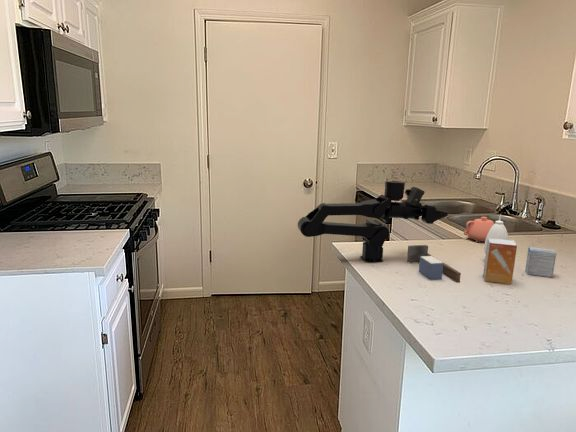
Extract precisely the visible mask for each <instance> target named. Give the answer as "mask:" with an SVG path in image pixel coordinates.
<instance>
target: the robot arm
mask: <svg viewBox="0 0 576 432" xmlns="http://www.w3.org/2000/svg"><path fill="white" fill-rule="evenodd" d="M405 186H406V182H405V181H401V180H387V181H385V183H384V187H385V188H384V193H383V194H380V195H379V196H378V197H376V198H373V199H367V200H363V201H360V202H356V203H355V202H354V203H351V202H350V203H349V202H348V203H345V202H344V203H343V202H342V203H325V202H321V203H320V204H319V205H318V206H316V208H314V209H313V210H312V211H310V212H308V213H307V215H305V216H302V217H300V218H299V220H298V222H297V228H298V230H299V232H300V233H301V234H302V236H303V237H308V238H311V237H318V236H322V235H335V236H352V237H353V236H354V237H361V238H362V241H363V242H362V252H361V254H362V255H360V256H359V257H360V258H361V259H362V260H363V261H364V262H366V263H377V262H379V263H381V262H384V260H383V256H384V247H383V246H384V244H385V241H386V240H387V239H388V238H389V235H390V230H389V228H388V227H387V226H386V225H384V224H383V223H381V221H379V220H377V219H381V220H382V221H383V222H385V223H386V224H389V222H390V219H391V218H393V219H404V220H409V219H412V220H416V221H417V220H418V221H419V220H420V218H421V221H422V222H423V223H424V224H428V225H430V224H431V225H433V224H434V223H435V222H436V221H438V220H441V219H443V218H446V217H447V216H448V215H449V213H448V212H446V211H442V210H438V209H437V208H436V206H435V205H431V204H424V205H423V204H422V203H421V200H422V199H423V196H424V195H425V190H423V189H421V188H418V187H415V186H412V187H410V188H406V189H405ZM404 194H405V195H406V200H403V198H404ZM401 200H402V201H401ZM328 216H362V217H367V218H371V219H372V220H371V219H366V220H365V223H361V224H358V223H345V222H330V221H329V222H328V221H325V220H326V218H328ZM373 219H374V220H373Z"/></svg>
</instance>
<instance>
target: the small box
mask: <svg viewBox="0 0 576 432" xmlns="http://www.w3.org/2000/svg"><path fill="white" fill-rule="evenodd" d="M517 248H518V247H517V243H516V241H515V240H514V239H513V240H510V239H509V240H503V239H491V238H488V240H487V248H486V254H485V257H484V264H483V265H484V267H483V273H482V275H483V279H484V281H485V282H493V283H497V284H507V285H512V284H513V279H514V278H513V277H514V269H515V264H516V263H515V262H516V255H517V251H518V250H517Z"/></svg>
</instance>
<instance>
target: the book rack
mask: <svg viewBox="0 0 576 432" xmlns="http://www.w3.org/2000/svg"><path fill="white" fill-rule="evenodd" d="M428 251H429V245H428V244H416V245H413V244H412V245H407V256H406V262H407V263H408V262H409V263H408V264H412V263H413V262H418V263H420V257H421V256H432V255H431V254H430V253H429V252H428ZM433 257H434V258H436V257H435V256H433ZM438 260H439V261H441V260H440V259H438ZM441 262H443V261H441ZM461 274H462V273H461V272H460V271H458V270H456V269H455V268H453V267H452V266H450V265H448V264H446V263H444V262H443V273H442V275H445V276H446V277H447V278H449V279H451V280H452V281H454V282H455V283H461Z"/></svg>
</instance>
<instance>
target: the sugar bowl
mask: <svg viewBox="0 0 576 432" xmlns="http://www.w3.org/2000/svg"><path fill="white" fill-rule="evenodd" d="M469 224H470V225H469ZM494 224H495V223H494V221H493V220H492V219H488V217H487V216H481V217H480V218H475V219H474V220H468V221H467V222H466V223H465V228H466V229H465V230H464V231H463V235H465V236H468V238H469V239H471V240H474V241H475V242H476V243H481V242H484V243H485V240H486V237H487V234H488V232H489V230H490V229H491V227H492V226H493V225H494Z"/></svg>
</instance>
